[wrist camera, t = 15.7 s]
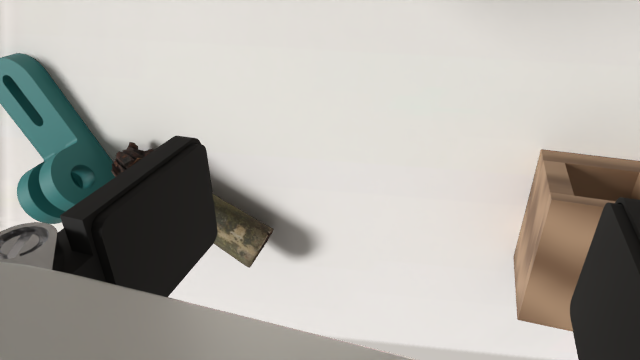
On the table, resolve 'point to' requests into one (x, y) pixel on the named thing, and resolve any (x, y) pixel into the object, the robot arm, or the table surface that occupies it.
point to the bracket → (51, 141)
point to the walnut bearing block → (564, 229)
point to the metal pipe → (232, 224)
